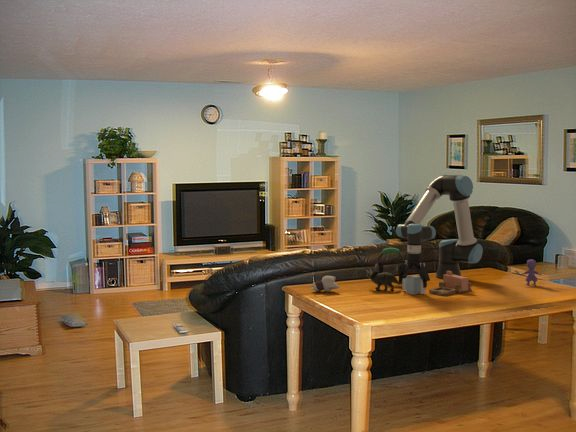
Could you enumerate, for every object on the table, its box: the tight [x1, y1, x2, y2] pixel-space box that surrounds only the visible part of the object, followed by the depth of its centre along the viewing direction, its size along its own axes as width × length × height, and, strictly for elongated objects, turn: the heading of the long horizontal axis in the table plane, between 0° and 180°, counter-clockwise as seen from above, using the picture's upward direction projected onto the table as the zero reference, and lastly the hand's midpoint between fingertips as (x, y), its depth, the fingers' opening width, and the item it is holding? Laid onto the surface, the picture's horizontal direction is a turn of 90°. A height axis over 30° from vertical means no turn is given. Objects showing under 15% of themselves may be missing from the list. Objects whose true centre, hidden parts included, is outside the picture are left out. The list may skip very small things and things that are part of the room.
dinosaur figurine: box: [365, 267, 402, 292], centre depth 366 cm, size 22×8×11 cm, turn 71°
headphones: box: [374, 247, 408, 283], centre depth 390 cm, size 19×11×20 cm, turn 80°
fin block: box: [405, 274, 422, 295], centre depth 358 cm, size 5×7×9 cm
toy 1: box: [310, 275, 340, 293], centre depth 362 cm, size 13×9×15 cm
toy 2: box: [513, 258, 549, 287], centre depth 375 cm, size 18×6×15 cm, turn 84°
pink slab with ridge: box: [442, 271, 469, 291], centre depth 363 cm, size 14×5×9 cm, turn 31°
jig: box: [428, 281, 473, 297], centre depth 360 cm, size 14×22×4 cm, turn 130°
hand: (413, 291), depth 358 cm, fingers open, 12 cm apart
